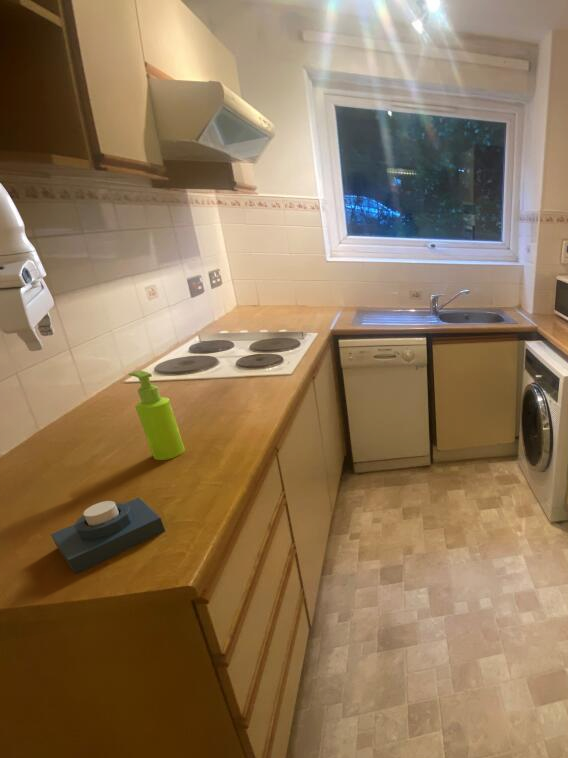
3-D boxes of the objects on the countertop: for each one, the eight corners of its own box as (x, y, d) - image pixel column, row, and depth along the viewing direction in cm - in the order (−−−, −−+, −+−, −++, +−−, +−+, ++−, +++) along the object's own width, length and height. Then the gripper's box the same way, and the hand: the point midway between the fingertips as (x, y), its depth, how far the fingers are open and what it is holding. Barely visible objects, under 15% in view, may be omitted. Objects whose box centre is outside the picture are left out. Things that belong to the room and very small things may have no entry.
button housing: (75, 574, 68) (63, 550, 66) (57, 548, 73) (45, 524, 71) (165, 531, 77) (156, 508, 75) (144, 510, 82) (135, 488, 80)
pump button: (92, 529, 71) (87, 519, 70) (84, 520, 73) (79, 510, 72) (122, 516, 74) (118, 506, 73) (114, 507, 76) (110, 497, 75)
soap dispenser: (173, 443, 105) (147, 366, 97) (190, 450, 102) (165, 371, 94) (145, 455, 100) (116, 374, 92) (162, 462, 97) (133, 380, 89)
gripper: (0, 261, 83) (33, 329, 89) (-39, 282, 68) (4, 362, 74) (45, 258, 87) (74, 324, 93) (17, 278, 72) (54, 355, 78)
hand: (43, 341), depth 83 cm, fingers open, 8 cm apart
